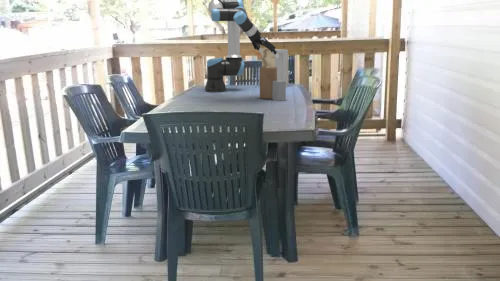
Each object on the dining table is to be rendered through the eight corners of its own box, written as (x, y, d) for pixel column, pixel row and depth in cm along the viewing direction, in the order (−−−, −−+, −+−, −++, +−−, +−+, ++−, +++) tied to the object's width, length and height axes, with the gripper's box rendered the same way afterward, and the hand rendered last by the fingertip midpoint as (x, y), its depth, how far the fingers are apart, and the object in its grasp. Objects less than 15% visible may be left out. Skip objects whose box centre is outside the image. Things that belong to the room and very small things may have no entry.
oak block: (261, 67, 295) (262, 48, 292) (269, 66, 298) (269, 47, 295) (267, 67, 290) (267, 48, 287) (274, 67, 293) (275, 48, 290)
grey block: (272, 99, 293) (272, 81, 290) (279, 98, 296) (280, 80, 293) (278, 101, 288) (278, 81, 285) (285, 100, 291) (285, 81, 288)
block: (274, 99, 293) (275, 68, 288) (259, 98, 295) (259, 67, 290) (277, 97, 303) (277, 66, 298) (262, 96, 305) (262, 66, 300)
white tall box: (283, 84, 363) (284, 48, 356) (287, 87, 349) (288, 50, 342) (259, 85, 361) (260, 49, 354) (262, 87, 346) (263, 50, 339)
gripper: (237, 36, 291) (257, 59, 303) (260, 37, 271) (280, 62, 283) (244, 28, 293) (263, 51, 305) (267, 28, 273) (287, 53, 285)
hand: (271, 56), depth 294 cm, fingers open, 13 cm apart
